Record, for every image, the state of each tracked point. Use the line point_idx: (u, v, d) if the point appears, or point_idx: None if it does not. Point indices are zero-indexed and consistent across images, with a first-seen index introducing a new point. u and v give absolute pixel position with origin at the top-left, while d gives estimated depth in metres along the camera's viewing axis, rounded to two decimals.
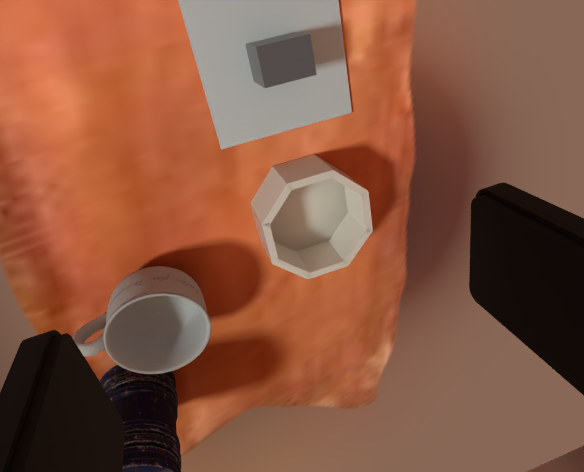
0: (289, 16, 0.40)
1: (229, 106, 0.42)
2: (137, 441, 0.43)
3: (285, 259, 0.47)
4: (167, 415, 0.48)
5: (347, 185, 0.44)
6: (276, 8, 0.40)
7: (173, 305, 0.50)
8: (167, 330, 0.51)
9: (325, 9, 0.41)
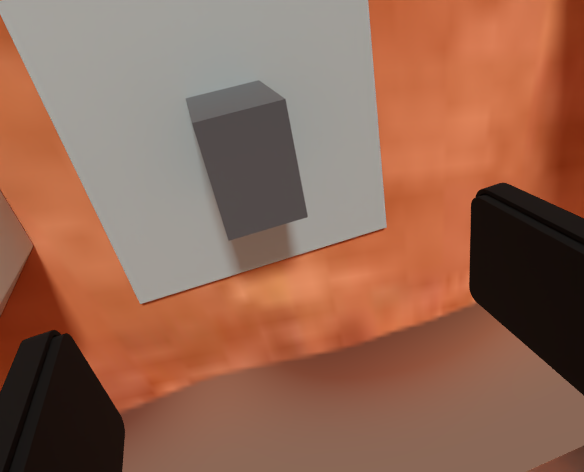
0: (304, 168, 0.22)
1: (121, 35, 0.17)
2: None
3: None
4: None
5: None
6: (317, 142, 0.22)
7: None
8: None
9: (314, 228, 0.24)
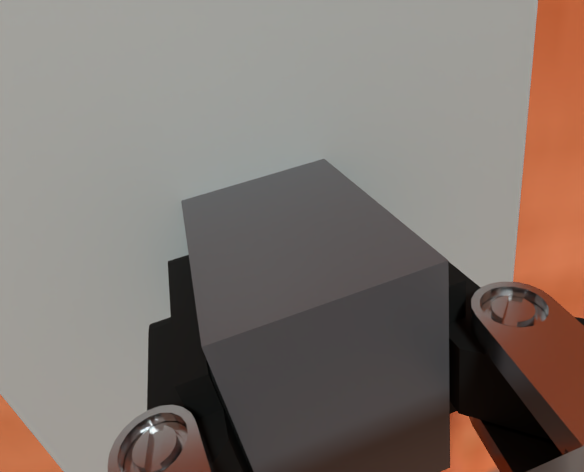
0: None
1: (35, 84, 0.08)
2: None
3: None
4: None
5: None
6: None
7: None
8: None
9: None
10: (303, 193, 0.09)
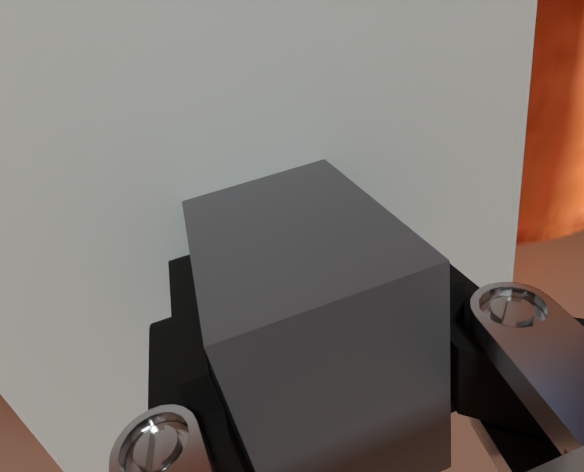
0: None
1: (37, 84, 0.08)
2: None
3: None
4: None
5: None
6: None
7: None
8: None
9: None
10: (304, 193, 0.09)
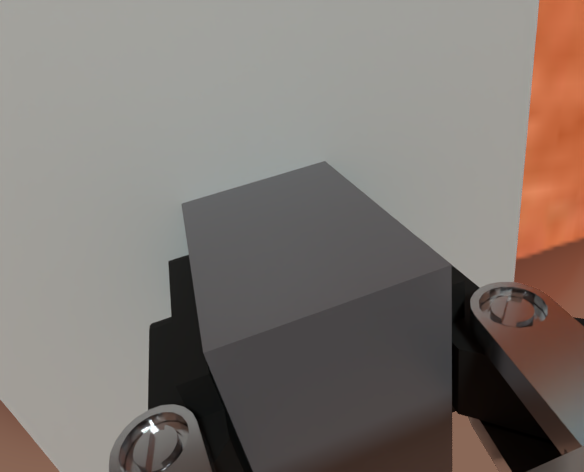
0: None
1: (35, 86, 0.08)
2: None
3: None
4: None
5: None
6: None
7: None
8: None
9: None
10: (304, 196, 0.09)
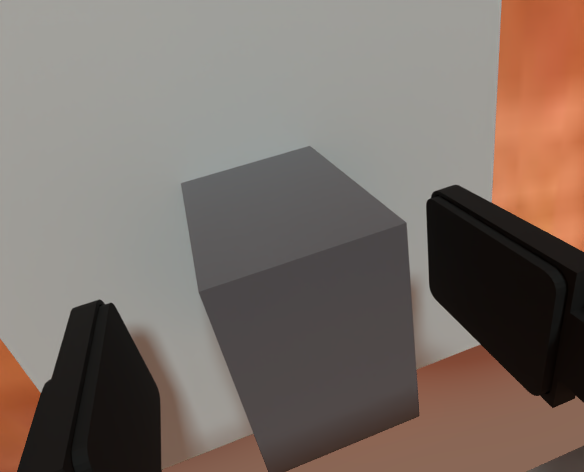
0: None
1: (53, 77, 0.09)
2: None
3: None
4: None
5: None
6: None
7: None
8: None
9: None
10: (289, 174, 0.10)
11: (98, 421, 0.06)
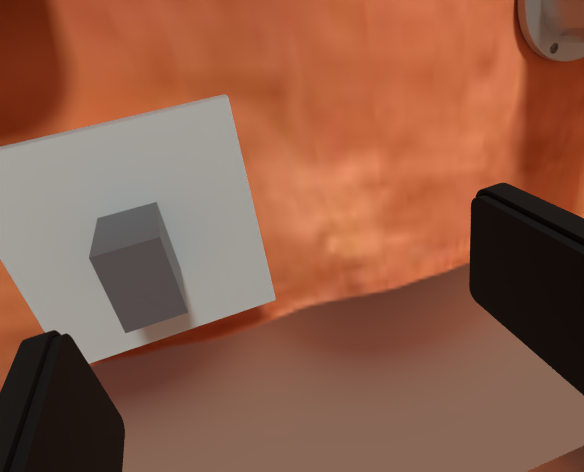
0: (200, 260, 0.28)
1: (43, 179, 0.23)
2: None
3: None
4: None
5: None
6: (209, 242, 0.28)
7: None
8: None
9: (213, 304, 0.30)
10: (139, 216, 0.24)
11: None
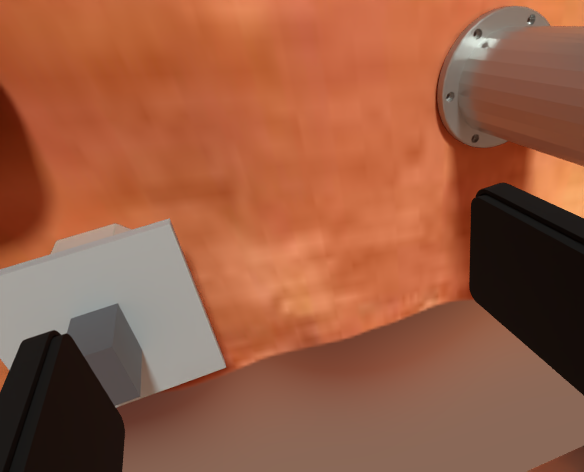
0: (158, 342, 0.34)
1: (26, 294, 0.30)
2: None
3: None
4: None
5: None
6: (164, 328, 0.34)
7: None
8: None
9: (172, 373, 0.36)
10: (102, 320, 0.30)
11: None
